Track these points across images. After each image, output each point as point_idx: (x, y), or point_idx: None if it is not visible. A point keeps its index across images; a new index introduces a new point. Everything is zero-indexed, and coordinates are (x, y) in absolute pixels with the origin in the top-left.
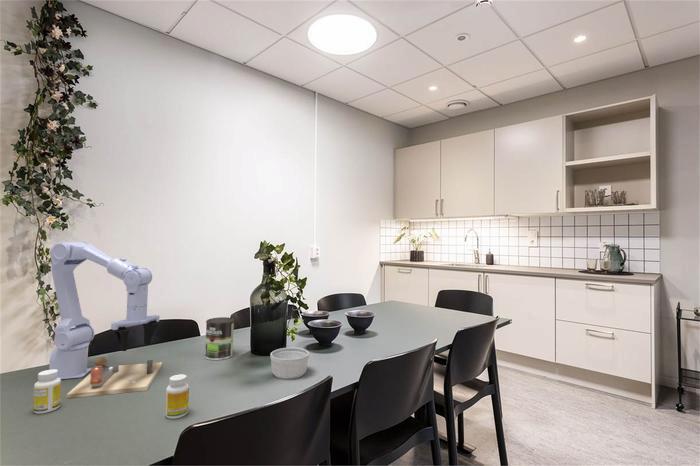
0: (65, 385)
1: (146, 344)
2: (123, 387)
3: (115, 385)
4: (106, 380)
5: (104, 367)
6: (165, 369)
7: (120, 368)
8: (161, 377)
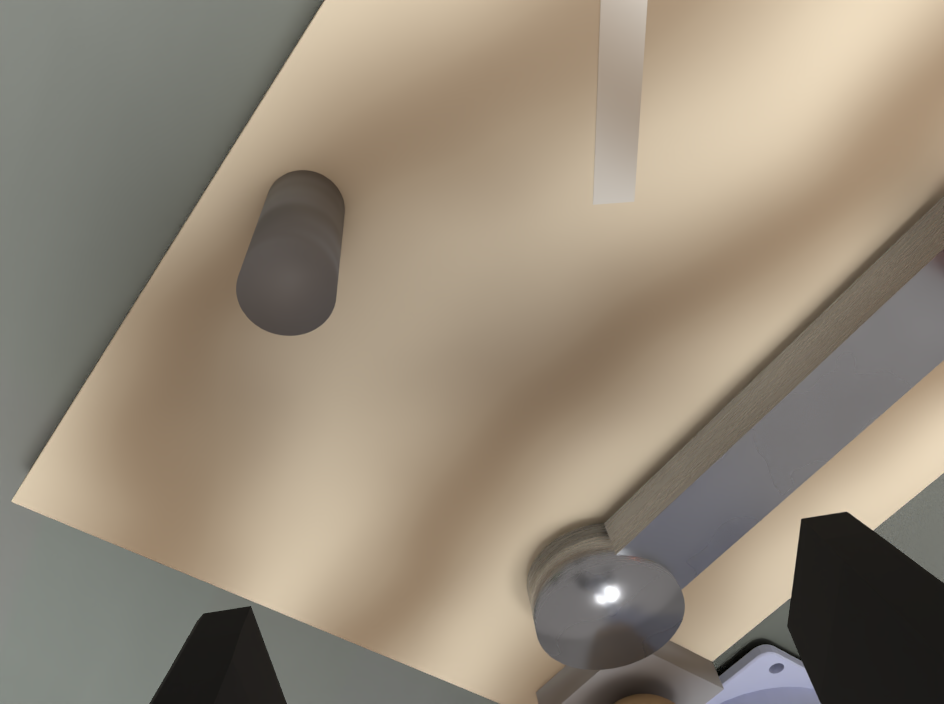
0: (931, 563)
1: (266, 659)
2: None
3: (831, 88)
4: (773, 355)
5: (671, 632)
6: (28, 306)
7: (484, 602)
8: (179, 17)
